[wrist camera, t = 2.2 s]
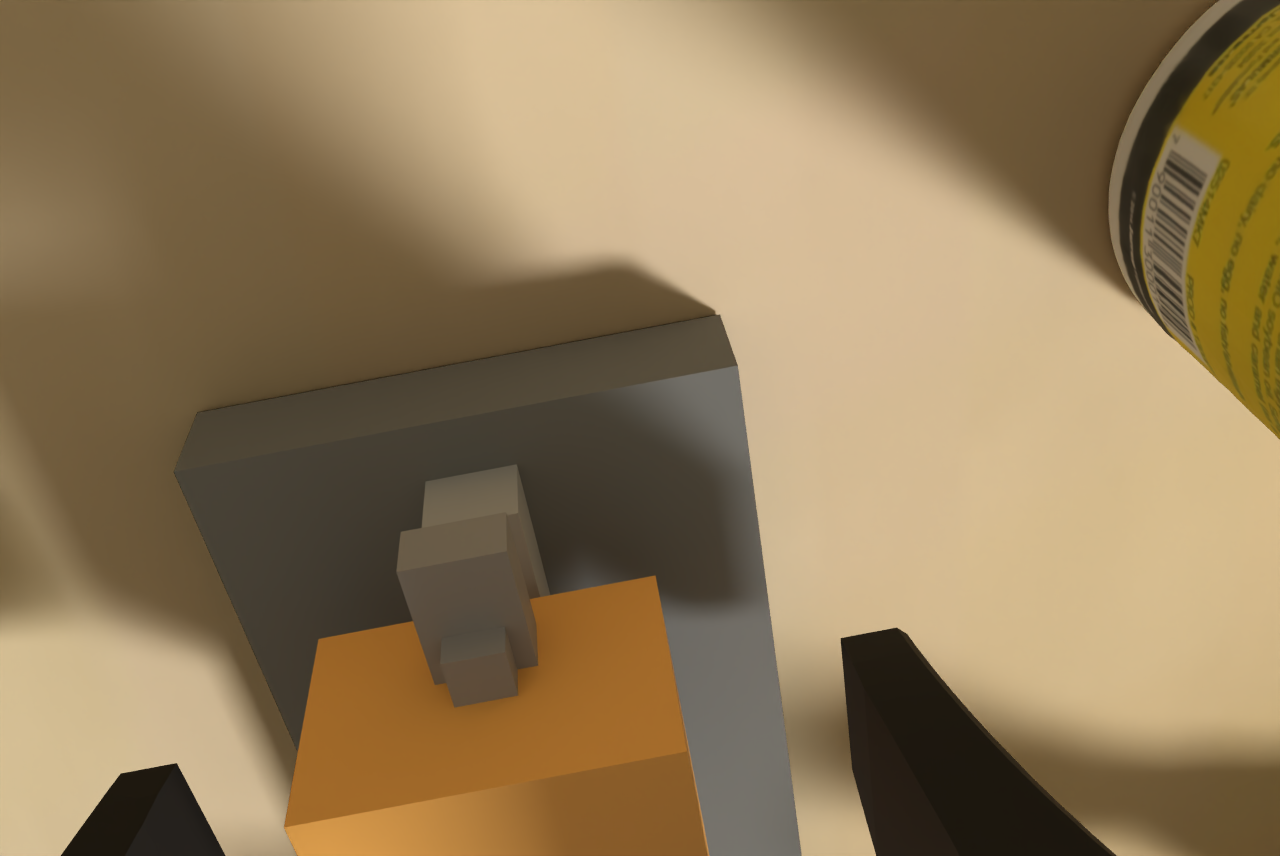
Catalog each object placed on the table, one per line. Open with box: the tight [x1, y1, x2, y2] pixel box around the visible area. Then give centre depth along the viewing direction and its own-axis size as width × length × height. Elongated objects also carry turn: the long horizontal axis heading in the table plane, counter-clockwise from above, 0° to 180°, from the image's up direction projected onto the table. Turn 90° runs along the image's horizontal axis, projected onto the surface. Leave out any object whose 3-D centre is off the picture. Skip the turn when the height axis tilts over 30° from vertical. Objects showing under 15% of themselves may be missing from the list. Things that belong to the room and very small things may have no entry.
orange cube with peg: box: [284, 512, 709, 856], centre depth 12 cm, size 5×4×2 cm, turn 9°
